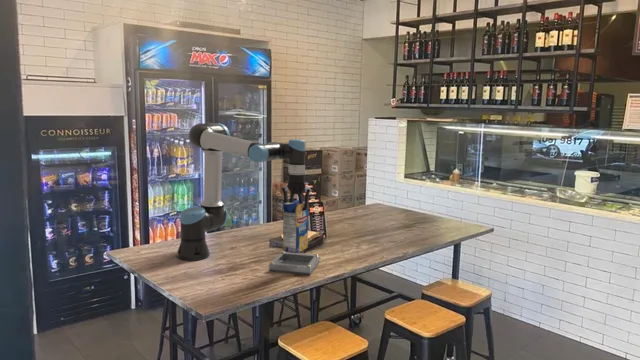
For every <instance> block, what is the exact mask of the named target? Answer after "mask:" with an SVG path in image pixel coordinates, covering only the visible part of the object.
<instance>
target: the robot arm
mask: <svg viewBox="0 0 640 360" xmlns="http://www.w3.org/2000/svg"><path fill="white" fill-rule="evenodd" d="M227 127H228V126H226V125H225V124H223V123H220V122H219V123H218V122H206V123H197V124H194V125H193V126H191V128H190V129H189V132H188V140H189V142H190V144H191V145H192V146H194V147H195V148H200V149H201V151H202V153H204V158H203V159H204V161H203V163H204V166H203V167H204V170H203V172H204V173H203V200H202V202H201V203H200V206H194V207H188V208H184V209H183V210H182V211H181V213H180V218H179V223H180V225H179V226H180V243H179V247H178V249H177V254H176V255H177V259H180V260H182V261H189V262H190V261H191V262H192V261H199V260H205V259H207V258H208V257H209V258H210V249H209V247H208V244H207V241H206V233H207V232H211V231H214V230H219V229H220V228H222V227H224V226H225V225H226V224H227V222H228V221H229V212H228V210H227V208H226V206H225V203H224V202H223V200H222V175H223V174H222V172H223V170H222V169H223V167H222V166H223V153H224V152H225V153H228V154H231V155H235V156H240V157H243V158H247V159H250V160H251V161H252V162H254V163H264V162H268V161H277V160H281V161H282V160H285V161H288V168H287V169H288V171H287V172H288V175H287V176H288V179H287V182H288V183H287V185H286V186H283V187H281V190H282V192H283V205H284V204H285V203H288V202H289V203H293V201H294V200H295V199H294V198H295V195H297V197H298V201H299V204H302V203H303V201H305V204H304V208H303V207H302V210H301V211H304V210H307V209H308V210H309V200H310V193H311V191H312V189H311V188H309V187H307V186H306V175H305V173H306V151H307V149H306V141H305V140H304V139H295V138H294V139H289V140H288V143H287V142H286V143H283V142H276V141H275V142H268V143H265V144H264V143H260V142H255V141H251V140H247V139H243V138H238V137H235V136H231V132H230V131H229V128H227ZM288 191H289V192H290V193H289V194H290V195H289V196H288ZM303 192H305V197H304V199H303Z"/></svg>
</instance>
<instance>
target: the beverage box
mask: <svg viewBox="0 0 640 360" xmlns="http://www.w3.org/2000/svg"><path fill="white" fill-rule="evenodd" d="M304 204H305V200H303V203H302V204H299V199H296V200H295V199H294V200H293V203H289V201H288V203H285V204H284V203H283V216H282V217H283V221H282V223H283V225H282V226H283V227H282V228H283V231H282V235H283V237H282V238H283V239H282V251H284V252H287V253H298V254H299V253H301V251H304V250H305V249H307V248H308V247H309V246H308V243H309V241H308V240H309V239H308V237H309V208H308V209H307V210H304V211H301V210H302V207H303V208H304Z"/></svg>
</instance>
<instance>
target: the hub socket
mask: <svg viewBox="0 0 640 360" xmlns="http://www.w3.org/2000/svg"><path fill="white" fill-rule="evenodd" d="M319 264H320V254H318V253H316V254H310V253H309V254H307V253H299V252H298V253H290V252H285V251H283V250H282V251H280V253H279V254H277V255H276V257H275V258H274V259H272V260H271V261H270V262H269V263H268V266H269V267H268V268H269V269H268V271H269V272H271V273H283V274H292V275H293V274H294V275H303V276H311V275H312V274H313V272H314V271H315V269H316V268H317V267H318V265H319Z"/></svg>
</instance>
